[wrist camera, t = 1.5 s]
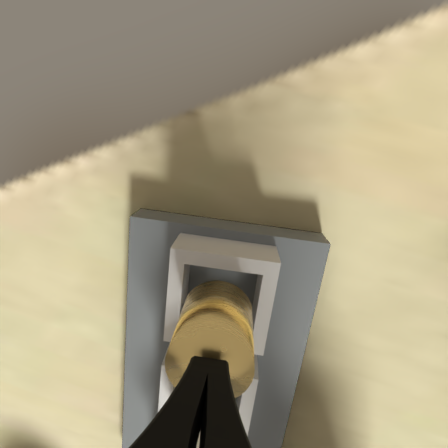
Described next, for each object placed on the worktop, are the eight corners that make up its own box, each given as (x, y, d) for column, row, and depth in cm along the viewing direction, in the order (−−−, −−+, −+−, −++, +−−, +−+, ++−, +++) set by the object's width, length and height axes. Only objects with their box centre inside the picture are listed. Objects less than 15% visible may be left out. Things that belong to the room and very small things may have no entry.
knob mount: (266, 473, 26) (271, 540, 22) (130, 451, 26) (107, 513, 22) (322, 233, 20) (343, 260, 15) (140, 208, 20) (112, 228, 16)
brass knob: (246, 345, 16) (247, 409, 12) (181, 335, 16) (161, 396, 13) (257, 285, 15) (261, 336, 11) (187, 275, 15) (168, 322, 12)
